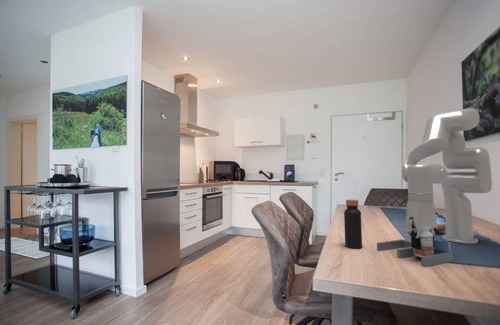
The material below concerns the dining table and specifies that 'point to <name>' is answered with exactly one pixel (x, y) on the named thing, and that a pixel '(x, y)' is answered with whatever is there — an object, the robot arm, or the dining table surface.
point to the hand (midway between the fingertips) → (423, 246)
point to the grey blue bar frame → (440, 256)
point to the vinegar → (352, 225)
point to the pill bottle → (425, 243)
